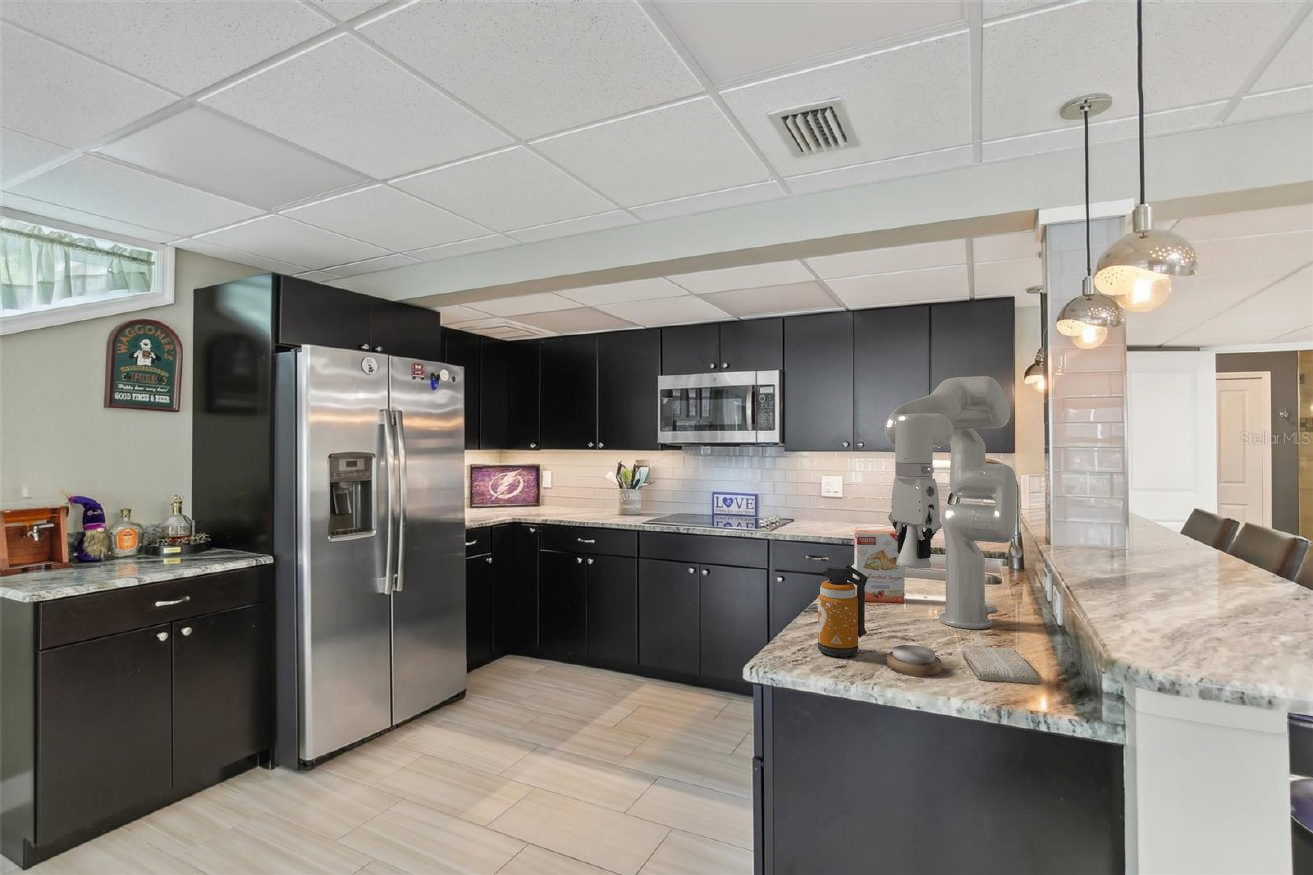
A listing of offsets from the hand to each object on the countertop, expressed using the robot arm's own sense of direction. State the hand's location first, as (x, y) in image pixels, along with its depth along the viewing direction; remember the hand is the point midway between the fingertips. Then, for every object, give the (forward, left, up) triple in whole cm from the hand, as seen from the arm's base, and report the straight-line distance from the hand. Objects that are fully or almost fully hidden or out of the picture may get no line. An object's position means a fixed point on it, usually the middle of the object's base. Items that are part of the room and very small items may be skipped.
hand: (913, 554), depth 145 cm
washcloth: (-17, +7, -25) cm, 31 cm away
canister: (+8, -14, -25) cm, 29 cm away
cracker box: (-32, -50, -25) cm, 64 cm away
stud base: (0, 0, -24) cm, 24 cm away
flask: (0, 0, -3) cm, 3 cm away
